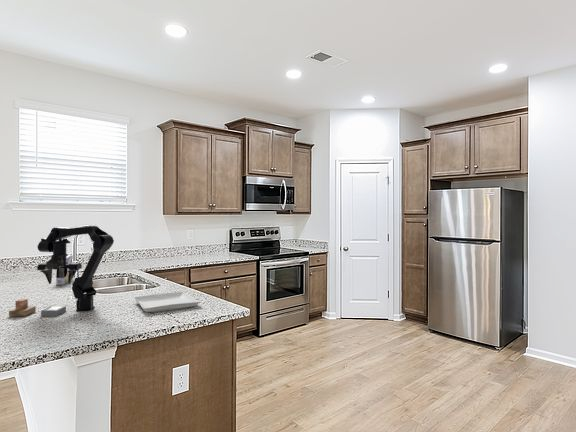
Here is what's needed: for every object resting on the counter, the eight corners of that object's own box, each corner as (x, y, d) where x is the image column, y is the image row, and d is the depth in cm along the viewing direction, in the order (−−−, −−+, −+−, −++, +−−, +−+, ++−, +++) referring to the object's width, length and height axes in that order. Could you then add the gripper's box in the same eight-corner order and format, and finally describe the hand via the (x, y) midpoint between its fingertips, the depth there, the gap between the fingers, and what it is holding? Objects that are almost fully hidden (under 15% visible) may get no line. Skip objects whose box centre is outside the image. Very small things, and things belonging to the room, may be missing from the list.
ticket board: (65, 311, 178) (65, 305, 178) (56, 316, 170) (56, 310, 170) (50, 311, 177) (50, 306, 177) (40, 316, 169) (40, 310, 169)
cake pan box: (63, 285, 240) (63, 258, 239) (54, 285, 238) (54, 258, 238) (73, 279, 258) (73, 254, 258) (65, 280, 257) (65, 254, 257)
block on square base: (35, 311, 177) (35, 297, 176) (25, 316, 169) (25, 301, 168) (20, 311, 176) (20, 298, 176) (8, 316, 168) (8, 302, 168)
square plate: (143, 316, 172) (143, 307, 172) (132, 303, 195) (132, 296, 195) (199, 308, 186) (199, 300, 186) (183, 297, 209) (183, 290, 209)
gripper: (30, 254, 175) (30, 287, 175) (71, 254, 177) (71, 286, 177) (43, 251, 186) (43, 282, 186) (82, 251, 188) (82, 282, 188)
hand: (59, 283), depth 184 cm, fingers open, 9 cm apart
